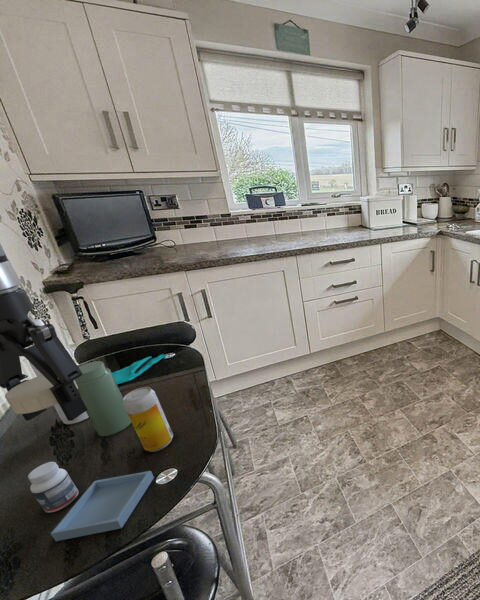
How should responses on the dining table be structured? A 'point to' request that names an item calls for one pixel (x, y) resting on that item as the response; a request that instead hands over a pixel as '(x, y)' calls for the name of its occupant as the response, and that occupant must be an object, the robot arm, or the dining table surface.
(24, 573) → the dining table surface
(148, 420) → the beer can
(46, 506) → the pill bottle
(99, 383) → the flask
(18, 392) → the flask lid
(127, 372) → the turquoise rubber glove
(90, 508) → the dish
